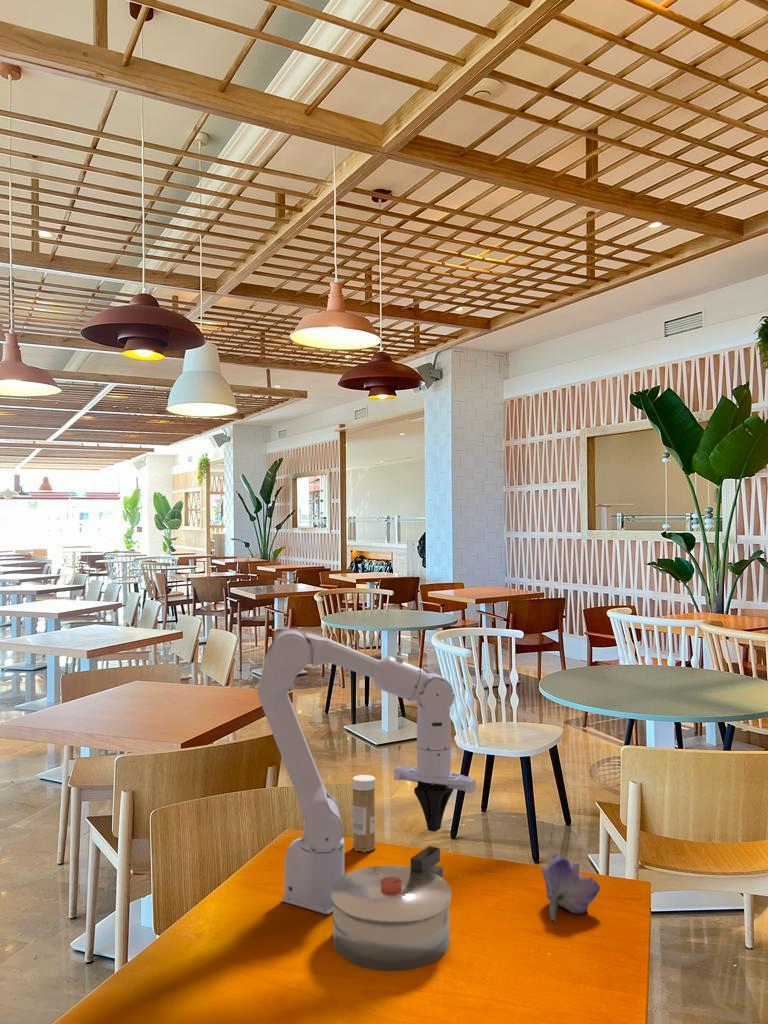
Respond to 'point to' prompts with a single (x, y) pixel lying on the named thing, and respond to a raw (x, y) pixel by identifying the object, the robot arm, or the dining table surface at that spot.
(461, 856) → the dining table surface
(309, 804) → the robot arm
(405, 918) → the cooker lid
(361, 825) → the sprinkles bottle
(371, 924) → the cooker pot
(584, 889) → the flower
